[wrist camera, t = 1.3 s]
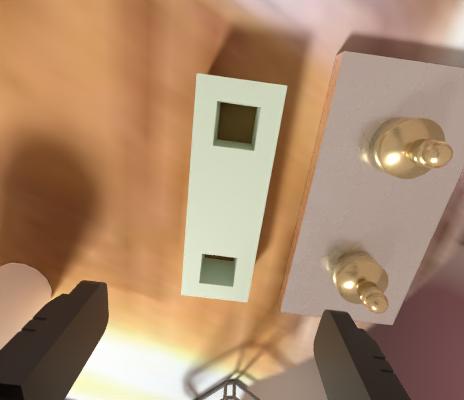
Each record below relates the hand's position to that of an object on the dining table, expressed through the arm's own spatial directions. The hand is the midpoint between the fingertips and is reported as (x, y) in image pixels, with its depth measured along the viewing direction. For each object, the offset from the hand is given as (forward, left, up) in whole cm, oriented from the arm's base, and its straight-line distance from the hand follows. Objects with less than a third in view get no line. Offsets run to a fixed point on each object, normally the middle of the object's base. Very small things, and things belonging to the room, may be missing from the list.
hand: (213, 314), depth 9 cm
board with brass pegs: (0, +13, -15) cm, 20 cm away
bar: (0, 0, -15) cm, 15 cm away
